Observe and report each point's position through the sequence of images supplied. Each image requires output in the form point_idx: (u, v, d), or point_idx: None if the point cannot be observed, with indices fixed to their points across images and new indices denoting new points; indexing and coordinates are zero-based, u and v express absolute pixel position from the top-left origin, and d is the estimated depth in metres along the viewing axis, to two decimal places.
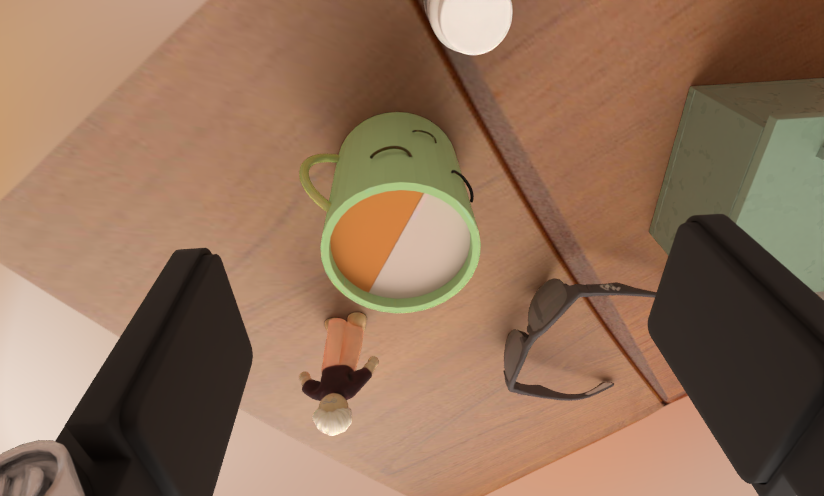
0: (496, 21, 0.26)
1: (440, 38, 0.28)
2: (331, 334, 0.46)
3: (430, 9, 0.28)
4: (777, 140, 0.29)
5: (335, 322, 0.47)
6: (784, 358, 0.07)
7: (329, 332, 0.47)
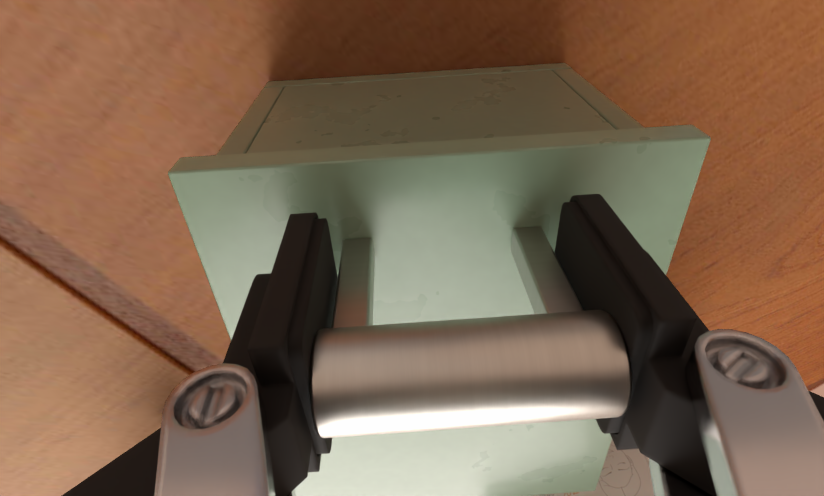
0: None
1: None
2: None
3: None
4: (209, 226, 0.11)
5: None
6: (619, 316, 0.08)
7: None
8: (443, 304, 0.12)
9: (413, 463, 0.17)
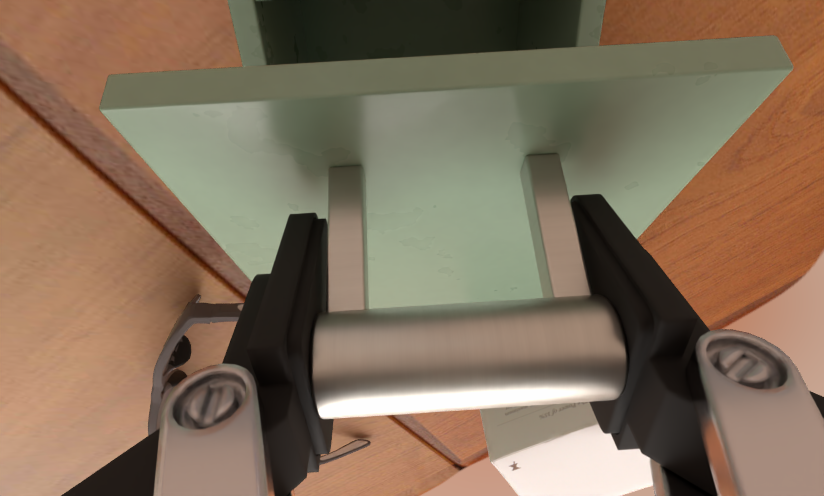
0: None
1: None
2: None
3: None
4: (169, 158, 0.09)
5: None
6: (619, 316, 0.08)
7: None
8: (440, 214, 0.12)
9: None
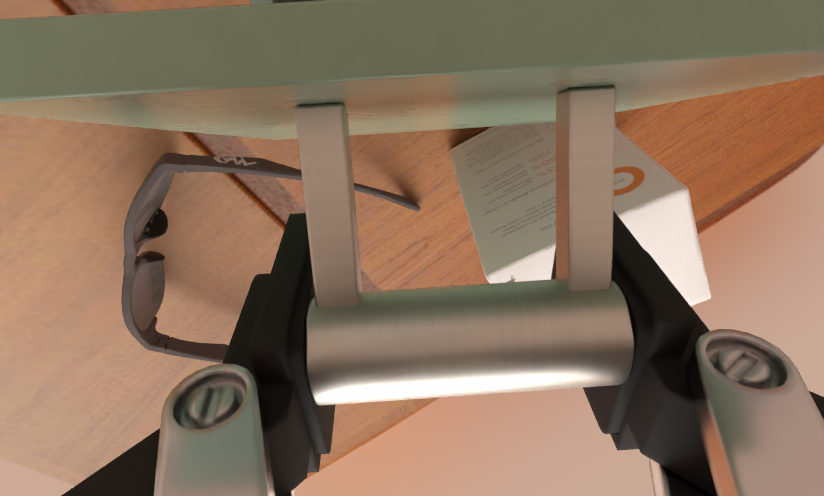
0: None
1: None
2: None
3: None
4: (60, 114, 0.06)
5: None
6: None
7: None
8: (442, 108, 0.09)
9: (390, 129, 0.16)
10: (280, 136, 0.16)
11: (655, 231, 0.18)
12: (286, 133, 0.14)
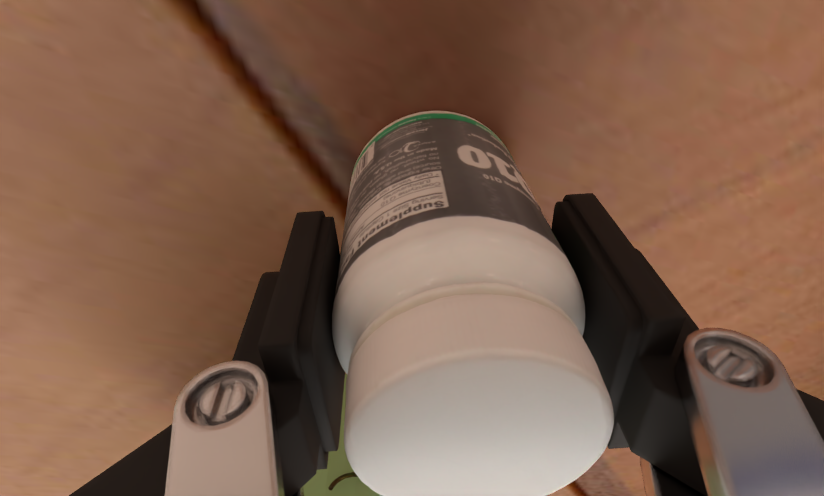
0: (550, 452, 0.07)
1: None
2: None
3: (333, 334, 0.09)
4: None
5: None
6: (609, 315, 0.08)
7: None
8: None
9: None
10: None
11: None
12: None
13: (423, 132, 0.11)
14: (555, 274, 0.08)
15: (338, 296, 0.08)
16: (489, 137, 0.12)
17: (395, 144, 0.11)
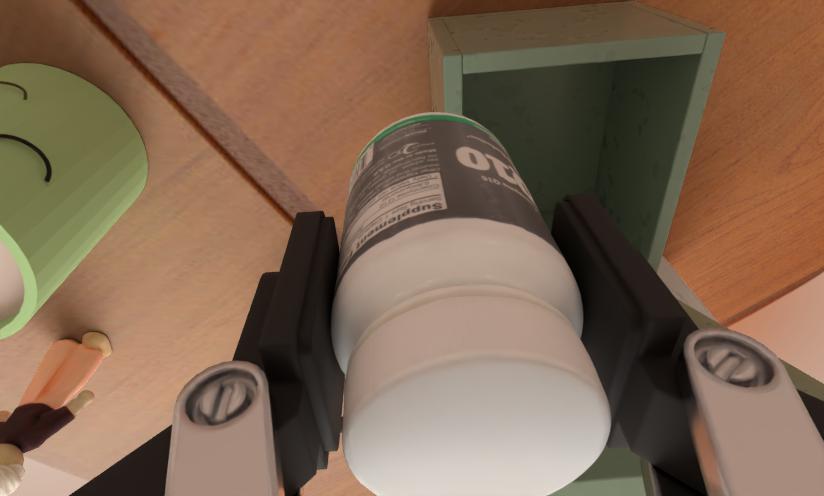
0: (548, 453, 0.07)
1: None
2: (44, 361, 0.36)
3: (332, 336, 0.09)
4: None
5: (57, 345, 0.37)
6: (609, 315, 0.08)
7: (43, 359, 0.37)
8: None
9: None
10: None
11: None
12: None
13: (422, 134, 0.11)
14: (553, 276, 0.08)
15: (337, 298, 0.08)
16: (488, 138, 0.12)
17: (394, 146, 0.11)
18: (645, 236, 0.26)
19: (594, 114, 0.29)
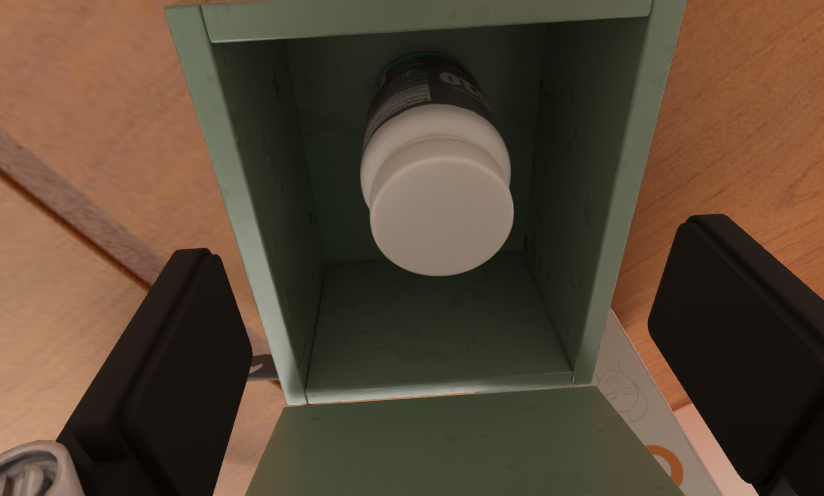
0: (480, 230, 0.13)
1: None
2: None
3: (361, 178, 0.15)
4: None
5: None
6: (784, 358, 0.07)
7: None
8: None
9: None
10: None
11: None
12: None
13: (419, 64, 0.17)
14: (489, 138, 0.14)
15: (365, 153, 0.14)
16: (463, 70, 0.17)
17: (400, 72, 0.17)
18: (576, 311, 0.17)
19: (517, 122, 0.20)
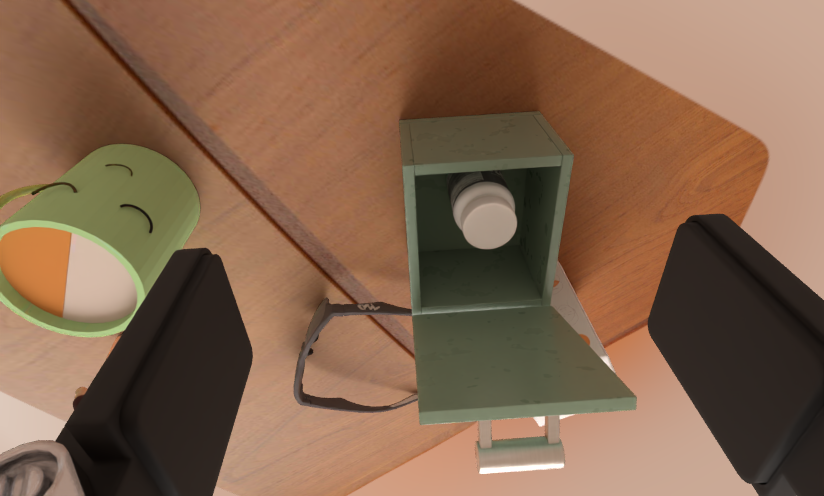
0: (504, 230, 0.35)
1: (461, 228, 0.37)
2: None
3: (454, 210, 0.36)
4: None
5: None
6: (784, 358, 0.07)
7: (111, 349, 0.49)
8: None
9: None
10: None
11: None
12: None
13: None
14: (507, 195, 0.35)
15: (457, 200, 0.36)
16: None
17: None
18: (542, 271, 0.38)
19: (516, 182, 0.42)
